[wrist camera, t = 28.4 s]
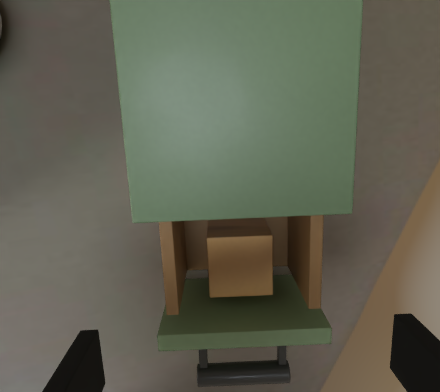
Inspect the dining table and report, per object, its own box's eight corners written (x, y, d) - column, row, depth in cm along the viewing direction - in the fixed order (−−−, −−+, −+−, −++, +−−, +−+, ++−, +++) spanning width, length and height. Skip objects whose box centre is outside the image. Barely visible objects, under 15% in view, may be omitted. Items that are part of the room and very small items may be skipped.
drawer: (300, 338, 31) (328, 410, 23) (177, 344, 31) (164, 417, 23) (304, 131, 27) (339, 136, 19) (160, 137, 26) (138, 144, 19)
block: (264, 267, 28) (273, 295, 24) (210, 270, 28) (209, 298, 24) (263, 216, 27) (272, 235, 23) (207, 218, 27) (206, 238, 23)
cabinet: (307, 182, 28) (352, 214, 19) (159, 189, 28) (132, 223, 19) (311, -8, 25) (368, -83, 16) (144, -1, 25) (101, -73, 16)
